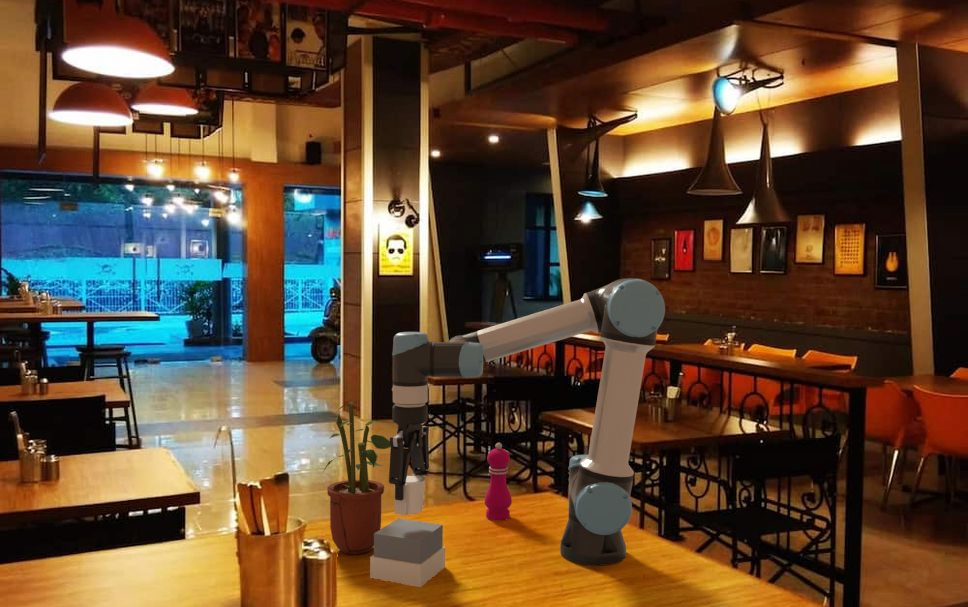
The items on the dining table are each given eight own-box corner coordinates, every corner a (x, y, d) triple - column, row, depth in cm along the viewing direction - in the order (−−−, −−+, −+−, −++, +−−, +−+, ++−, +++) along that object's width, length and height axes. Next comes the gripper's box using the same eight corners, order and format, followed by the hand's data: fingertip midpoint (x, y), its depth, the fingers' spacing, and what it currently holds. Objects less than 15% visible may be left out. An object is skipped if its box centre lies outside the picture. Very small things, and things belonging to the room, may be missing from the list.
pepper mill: (482, 520, 208) (483, 445, 207) (486, 512, 216) (487, 439, 215) (509, 522, 207) (510, 446, 206) (513, 514, 214) (514, 440, 213)
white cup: (410, 517, 168) (410, 484, 167) (386, 510, 172) (386, 478, 172) (431, 509, 173) (432, 478, 173) (408, 503, 177) (408, 472, 177)
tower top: (442, 547, 176) (442, 524, 176) (420, 564, 166) (420, 540, 165) (398, 540, 180) (398, 518, 180) (373, 556, 170) (374, 533, 169)
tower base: (445, 569, 176) (445, 546, 176) (420, 589, 165) (420, 565, 165) (397, 560, 181) (397, 539, 181) (370, 580, 170) (370, 556, 169)
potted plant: (368, 563, 178) (368, 408, 176) (307, 554, 183) (307, 403, 181) (400, 538, 194) (401, 396, 193) (344, 530, 199) (344, 392, 198)
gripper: (415, 395, 182) (414, 495, 183) (371, 410, 164) (371, 520, 165) (445, 398, 179) (444, 499, 180) (403, 413, 161) (403, 525, 162)
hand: (409, 509), depth 173 cm, fingers closed on white cup, 7 cm apart
